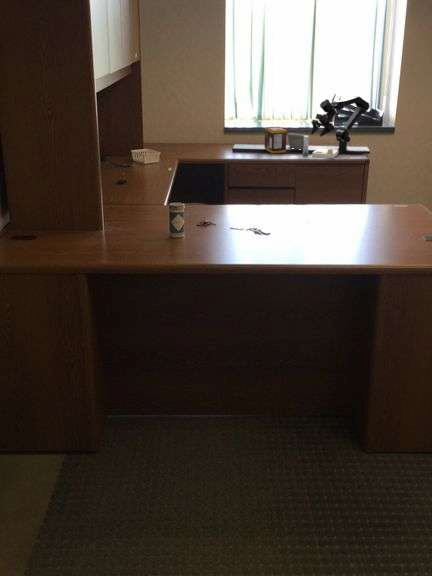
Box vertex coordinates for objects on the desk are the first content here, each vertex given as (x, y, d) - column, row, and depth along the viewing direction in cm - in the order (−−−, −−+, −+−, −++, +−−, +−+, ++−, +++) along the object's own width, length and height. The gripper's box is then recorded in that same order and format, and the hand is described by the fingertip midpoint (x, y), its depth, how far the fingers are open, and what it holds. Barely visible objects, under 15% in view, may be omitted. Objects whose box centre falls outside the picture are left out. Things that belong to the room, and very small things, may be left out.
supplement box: (277, 148, 454) (278, 126, 447) (286, 152, 440) (287, 129, 434) (264, 149, 451) (264, 127, 444) (272, 153, 437) (273, 130, 431)
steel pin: (303, 154, 434) (304, 135, 428) (308, 155, 432) (309, 135, 427) (302, 155, 430) (303, 136, 425) (307, 156, 429) (308, 136, 424)
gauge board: (317, 152, 441) (318, 144, 439) (338, 153, 436) (338, 146, 434) (312, 156, 428) (312, 149, 426) (333, 158, 423) (333, 150, 421)
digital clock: (309, 149, 449) (310, 134, 444) (301, 151, 444) (301, 136, 439) (293, 146, 460) (294, 131, 456) (284, 147, 455) (285, 132, 451)
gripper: (313, 107, 432) (300, 125, 432) (332, 110, 418) (318, 129, 417) (322, 117, 439) (309, 135, 439) (340, 121, 425) (327, 140, 424)
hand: (315, 135), depth 430 cm, fingers open, 9 cm apart
